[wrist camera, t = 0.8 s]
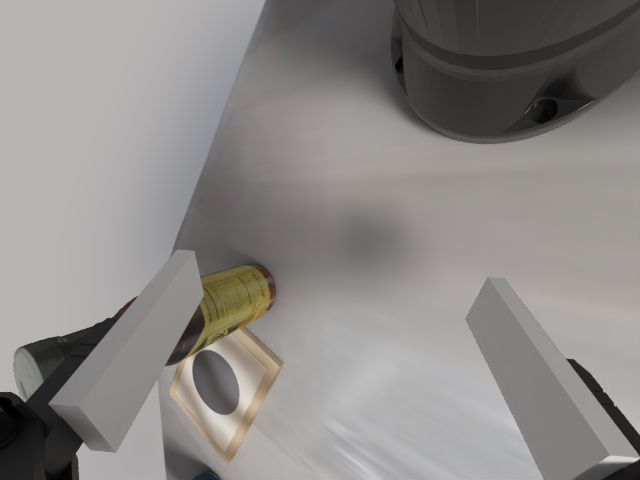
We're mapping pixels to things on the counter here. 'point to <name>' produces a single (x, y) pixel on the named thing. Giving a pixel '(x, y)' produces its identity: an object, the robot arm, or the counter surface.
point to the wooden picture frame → (225, 388)
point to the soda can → (206, 477)
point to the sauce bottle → (203, 330)
